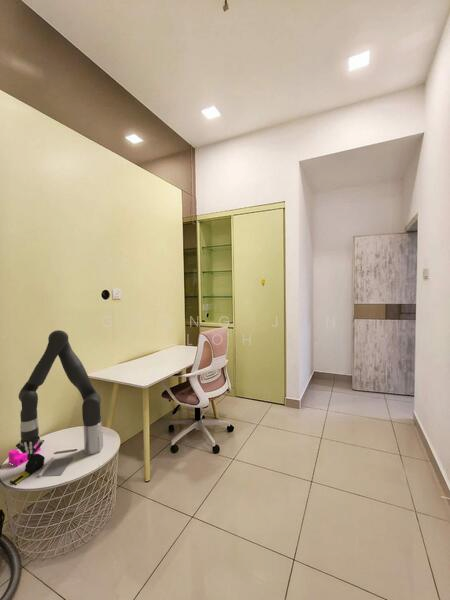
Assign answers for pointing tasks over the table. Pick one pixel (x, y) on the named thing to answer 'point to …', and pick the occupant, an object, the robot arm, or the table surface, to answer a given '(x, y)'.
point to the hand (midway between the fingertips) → (31, 459)
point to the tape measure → (30, 467)
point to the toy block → (18, 456)
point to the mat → (55, 467)
